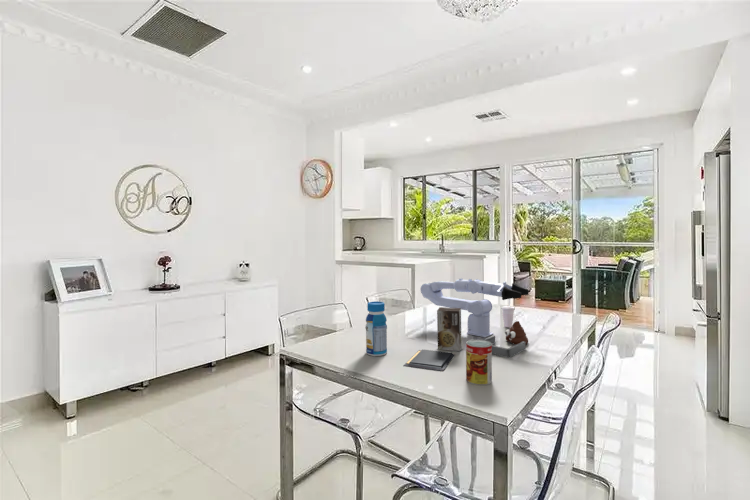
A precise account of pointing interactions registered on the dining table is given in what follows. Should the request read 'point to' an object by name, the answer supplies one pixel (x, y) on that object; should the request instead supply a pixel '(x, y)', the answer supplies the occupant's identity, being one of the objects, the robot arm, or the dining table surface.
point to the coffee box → (449, 328)
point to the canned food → (479, 362)
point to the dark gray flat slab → (430, 360)
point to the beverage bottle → (376, 329)
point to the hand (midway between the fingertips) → (524, 293)
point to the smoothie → (508, 315)
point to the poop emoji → (516, 334)
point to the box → (505, 351)
